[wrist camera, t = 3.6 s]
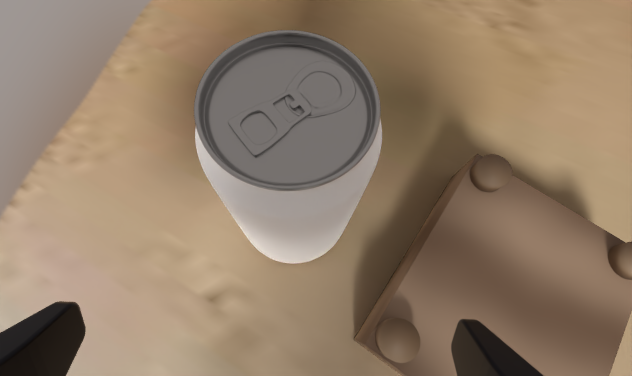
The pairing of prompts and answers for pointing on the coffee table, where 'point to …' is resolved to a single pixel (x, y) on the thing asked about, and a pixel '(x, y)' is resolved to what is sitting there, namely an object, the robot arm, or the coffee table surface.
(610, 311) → the base brick
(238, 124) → the can
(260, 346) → the coffee table surface
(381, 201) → the coffee table surface
